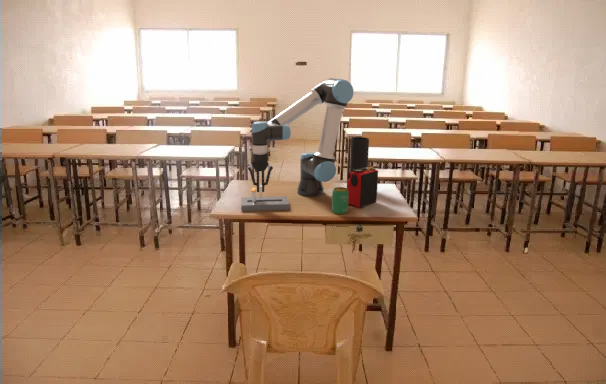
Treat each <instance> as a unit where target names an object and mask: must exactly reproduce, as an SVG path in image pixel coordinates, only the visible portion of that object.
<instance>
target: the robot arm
mask: <svg viewBox="0 0 606 384" xmlns="http://www.w3.org/2000/svg"><path fill="white" fill-rule="evenodd" d="M354 93H355V92H354V87H353V86H352V83H351V82H349V81H348V80H346V79H343V78H331V77H330V78H327V79H325V80H322V81H321V82H320V83H318V84H317V85H315V86H314V87H313V88H311V89H310V92H309V93H307V94H306V95H304V96H303V97H302V98H300V99H299V100H297V101H295V102H294V103H293V104H291V105H290V106H289V107H288V108H286V109H285V110H283V111H281V112H280V113H279V114H278V115H276V116H274V117H273V118H271V119H270V120H266V121H254V122H253V123H252V125H251V134H252V135H251V136H252V139H251V141H252V143H251V145H252V147H251V149H252V151H251V152H252V162H251V165H248V166H247V170H248V171H249V173H250V177H251V181H252V184H253V186H256V193H258V197H259V199H262V197H263V193H264V192H265V187H266V186H268V185H269V181H270V176H271V172H272V170H273V169H274V168H273V165H270V164H269V162H268V161H269V160H268V142H269V141H287V140H289V139H290V138H291V135H292V133H291V127H290V126H289V125H290V124H292V123H294V122H295V121H296V120H297V119H299V118H300V117H302V116H304V115H305V114H307V113H308V112H309V111H310V110H311V109H313V108H315V107H316V106H318V105H320V106H321V105H323V103H324V104H325V105H326V109H325V114H324V120H323V123H322V129H321V134H320V137H319V138H320V139H319V142H318V147H317V151H316V152H305V153H301V155H300V159H299V162H300V166H299V167H300V180H299V183H298V186H297V189H296V190H297V191H296V192H297V194H298V195H301V196H305V197H306V196H307V197H316V196H317V197H318V196H321V195H323V194H324V192H325V191H324V190H325V189H324V186H323V183H327V182H329V181H331V180H333V179H334V178H335V176H336V174H337V166H336V164H335V162H336V157H335V155H334V153H335V147H336V143H337V140H338V139H337V138H338V135H339V130H340V129H339V128H340V125H341V120H342V117H343V112H344V110H345V109H346V108H347V106H348V103H349V102H350V101H352V99H353V97H354ZM253 169H254V171H256V179H255V175H254V172H253ZM266 169H267V174H266V178H265V171H266ZM260 172H261V184H260Z"/></svg>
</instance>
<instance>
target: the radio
mask: <svg viewBox="0 0 606 384" xmlns="http://www.w3.org/2000/svg"><path fill="white" fill-rule="evenodd" d="M347 178H348V179H347V181H346V188H347V190H348V192H349V194H348V205H352V206H355V207H356V208H359V209H360V208H363V207H366V206H368V205H372V204H374V203H377V197H378V181H379V169H376V168H374V166H369V167H365V168H359V169H353V171H350V170H349V171H348V174H347Z"/></svg>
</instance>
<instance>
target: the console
mask: <svg viewBox="0 0 606 384" xmlns="http://www.w3.org/2000/svg"><path fill="white" fill-rule="evenodd" d="M240 205H241V209H240V210H241V212H255V211H256V212H260V211H263V212H264V211H289V210H290V202H289V199H288V196H286V195H283V196H281V195H279V196H262V199H259V196H256V202H252V196H247V197H245V196H244V197H243V196H242V197H241V204H240Z"/></svg>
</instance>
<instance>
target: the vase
mask: <svg viewBox="0 0 606 384" xmlns="http://www.w3.org/2000/svg"><path fill="white" fill-rule="evenodd" d="M369 145H370V138H368V137H361V136H357V137H355V136H354V137H351V138H350V154H349V155H350V156H349V157H350V158H349V163H350V164H349V172H350V171H353V169H359V168H365V167H368V165H369V148H370V146H369Z"/></svg>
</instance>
